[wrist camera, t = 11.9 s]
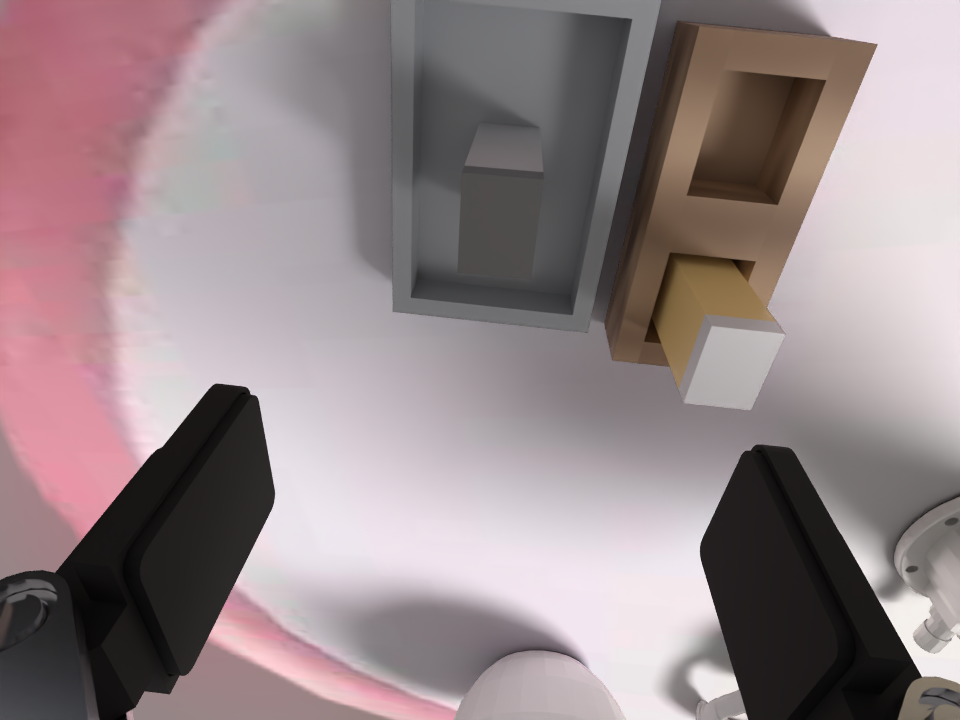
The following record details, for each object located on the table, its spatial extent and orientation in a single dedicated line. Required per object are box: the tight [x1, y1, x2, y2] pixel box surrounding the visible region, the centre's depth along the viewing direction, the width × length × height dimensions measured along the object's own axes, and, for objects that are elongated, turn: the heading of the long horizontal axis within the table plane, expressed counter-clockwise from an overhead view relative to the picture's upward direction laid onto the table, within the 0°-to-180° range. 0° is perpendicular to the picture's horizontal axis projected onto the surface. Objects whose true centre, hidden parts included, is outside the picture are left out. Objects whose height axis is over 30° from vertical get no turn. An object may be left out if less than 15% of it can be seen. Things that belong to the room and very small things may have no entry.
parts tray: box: [391, 0, 662, 333], centre depth 28 cm, size 16×11×3 cm
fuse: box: [651, 252, 786, 411], centre depth 27 cm, size 4×3×9 cm
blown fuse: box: [457, 123, 544, 280], centre depth 25 cm, size 4×3×9 cm
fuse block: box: [604, 21, 878, 367], centre depth 28 cm, size 16×7×4 cm, turn 175°
